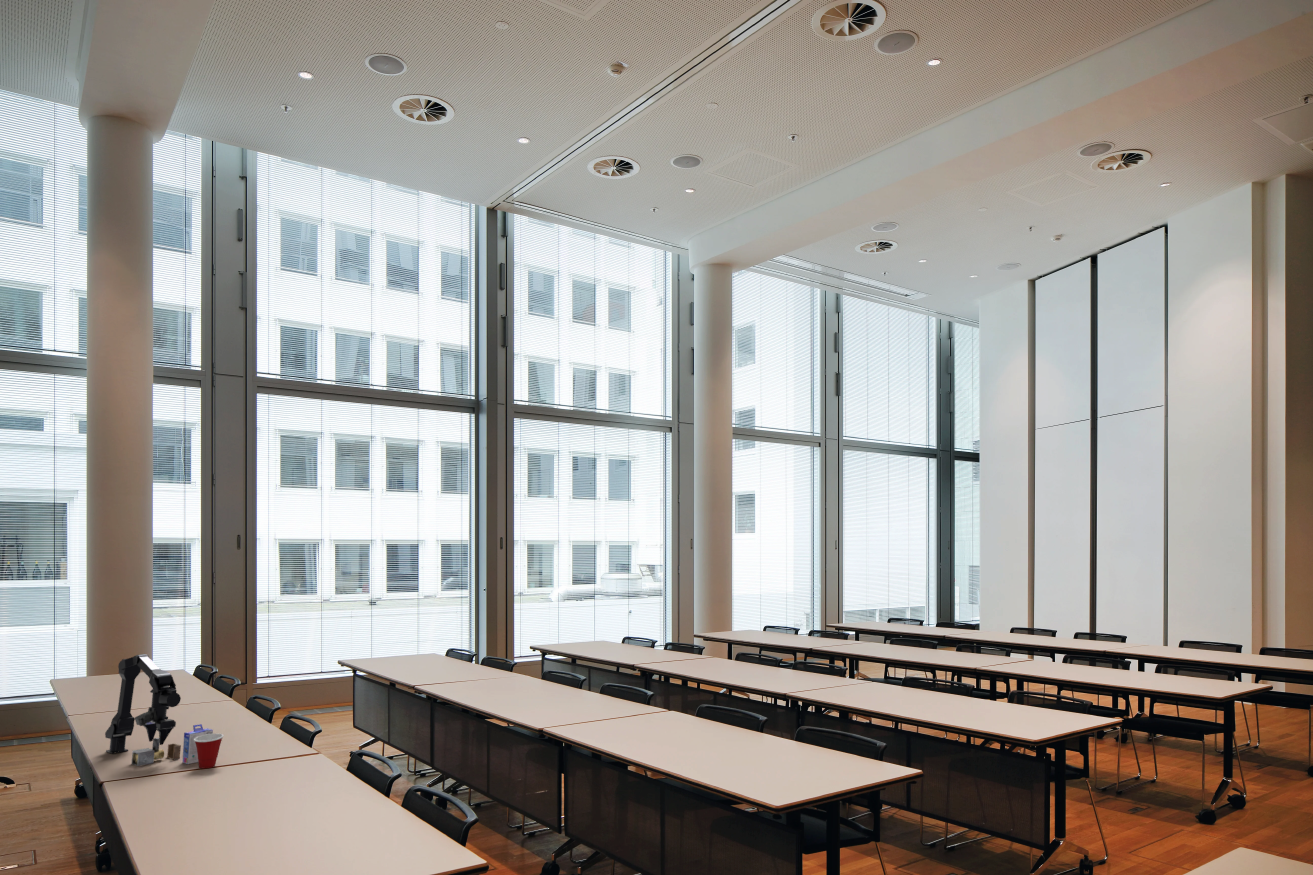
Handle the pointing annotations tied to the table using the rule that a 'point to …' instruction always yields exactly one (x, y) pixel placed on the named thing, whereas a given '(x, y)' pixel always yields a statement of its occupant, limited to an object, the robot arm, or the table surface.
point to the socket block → (173, 751)
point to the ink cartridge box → (193, 743)
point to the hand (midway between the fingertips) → (155, 742)
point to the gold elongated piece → (157, 753)
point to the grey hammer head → (143, 756)
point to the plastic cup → (208, 749)
